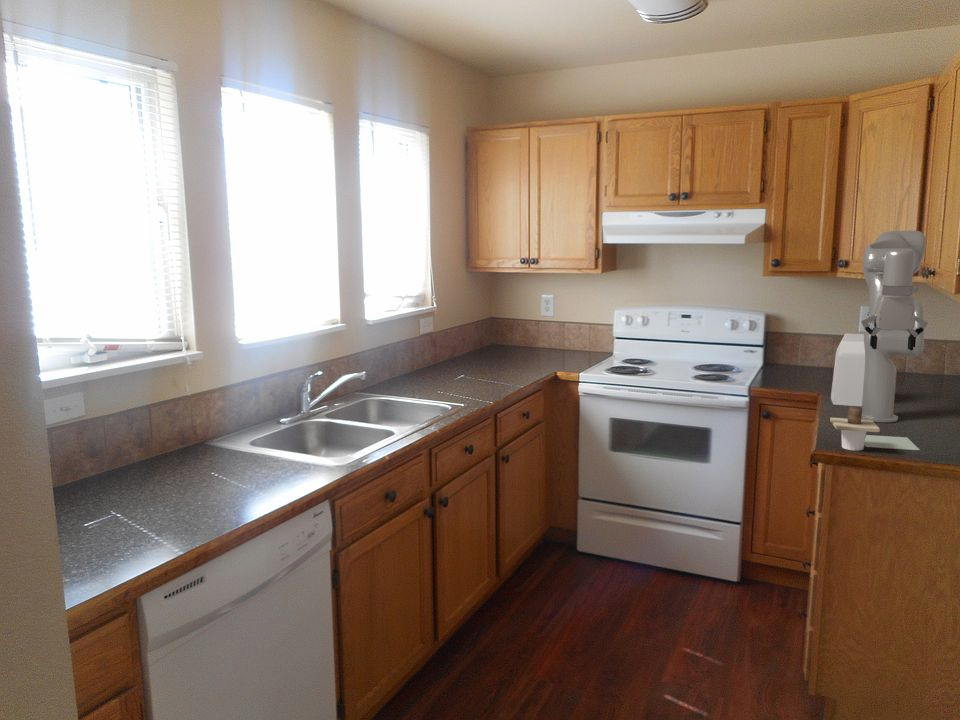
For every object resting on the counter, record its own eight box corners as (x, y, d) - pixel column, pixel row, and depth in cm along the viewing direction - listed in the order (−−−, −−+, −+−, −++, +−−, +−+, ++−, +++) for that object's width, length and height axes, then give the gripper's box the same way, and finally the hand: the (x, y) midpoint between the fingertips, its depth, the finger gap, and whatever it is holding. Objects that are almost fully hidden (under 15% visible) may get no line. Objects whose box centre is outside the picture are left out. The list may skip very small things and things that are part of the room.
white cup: (842, 444, 214) (844, 422, 213) (868, 448, 210) (869, 425, 209) (836, 450, 209) (838, 426, 208) (862, 454, 205) (864, 430, 204)
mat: (856, 436, 224) (856, 434, 224) (907, 439, 220) (907, 437, 219) (866, 448, 210) (866, 446, 210) (920, 451, 206) (920, 450, 206)
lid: (830, 420, 215) (831, 402, 214) (870, 422, 212) (872, 404, 211) (836, 429, 205) (837, 411, 204) (879, 432, 202) (881, 413, 201)
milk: (833, 404, 267) (837, 335, 262) (830, 398, 277) (835, 331, 273) (869, 406, 262) (874, 336, 258) (865, 400, 273) (870, 332, 269)
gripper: (926, 291, 211) (921, 348, 214) (861, 290, 217) (857, 346, 219) (933, 292, 204) (928, 352, 207) (866, 292, 209) (862, 350, 212)
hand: (891, 349), depth 213 cm, fingers open, 9 cm apart
